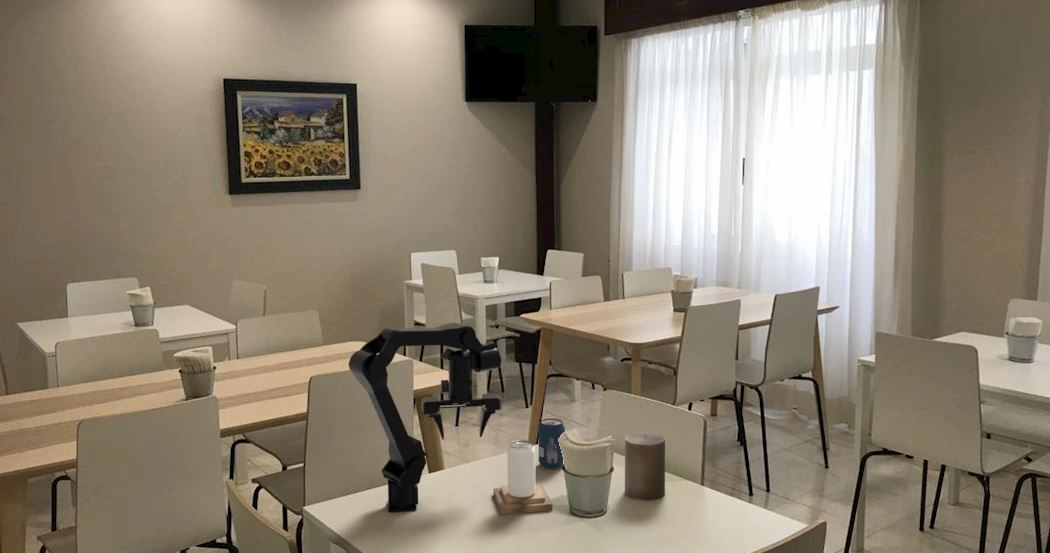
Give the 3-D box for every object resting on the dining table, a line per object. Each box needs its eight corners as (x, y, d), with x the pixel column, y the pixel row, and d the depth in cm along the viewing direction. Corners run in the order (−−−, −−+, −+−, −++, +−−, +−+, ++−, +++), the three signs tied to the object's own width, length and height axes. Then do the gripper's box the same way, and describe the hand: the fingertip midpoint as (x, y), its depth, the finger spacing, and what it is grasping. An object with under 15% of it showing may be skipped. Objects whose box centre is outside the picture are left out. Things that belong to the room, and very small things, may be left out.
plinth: (501, 514, 195) (500, 503, 195) (493, 494, 207) (493, 484, 207) (552, 510, 198) (552, 499, 197) (542, 490, 209) (542, 481, 209)
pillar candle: (670, 499, 204) (671, 438, 202) (630, 502, 202) (631, 440, 200) (657, 485, 213) (658, 426, 211) (619, 487, 212) (620, 428, 210)
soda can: (555, 459, 232) (555, 416, 230) (570, 466, 226) (570, 422, 224) (533, 464, 228) (533, 420, 226) (548, 472, 222) (548, 427, 221)
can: (532, 487, 205) (531, 438, 204) (538, 497, 199) (537, 447, 197) (505, 489, 204) (505, 440, 202) (510, 499, 197) (510, 449, 196)
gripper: (494, 365, 217) (494, 425, 219) (419, 369, 213) (421, 430, 215) (500, 376, 206) (501, 439, 208) (422, 380, 202) (424, 444, 204)
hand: (461, 437), depth 209 cm, fingers open, 9 cm apart
